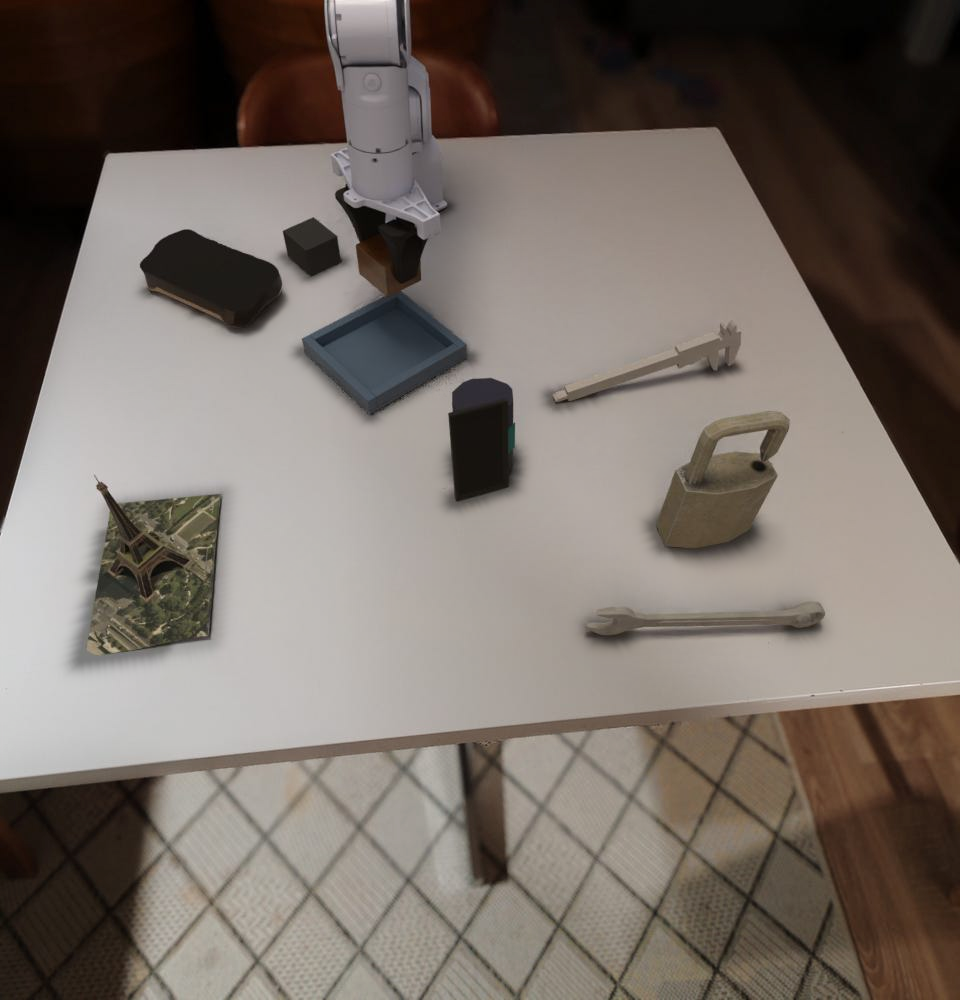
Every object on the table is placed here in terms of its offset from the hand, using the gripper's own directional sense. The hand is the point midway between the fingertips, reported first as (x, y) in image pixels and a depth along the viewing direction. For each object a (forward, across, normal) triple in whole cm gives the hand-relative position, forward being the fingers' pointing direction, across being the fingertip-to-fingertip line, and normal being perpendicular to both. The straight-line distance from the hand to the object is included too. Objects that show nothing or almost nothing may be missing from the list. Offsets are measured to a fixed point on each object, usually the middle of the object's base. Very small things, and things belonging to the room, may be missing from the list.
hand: (390, 265), depth 79 cm
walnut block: (+1, 0, 0) cm, 1 cm away
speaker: (+9, +21, -6) cm, 23 cm away
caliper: (+9, +23, +15) cm, 29 cm away
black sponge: (+9, -18, -12) cm, 24 cm away
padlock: (+9, +40, +5) cm, 41 cm away
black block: (+8, -16, 0) cm, 18 cm away
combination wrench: (+9, +46, -3) cm, 47 cm away
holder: (+8, +3, -3) cm, 10 cm away
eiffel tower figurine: (+9, +12, -35) cm, 38 cm away
